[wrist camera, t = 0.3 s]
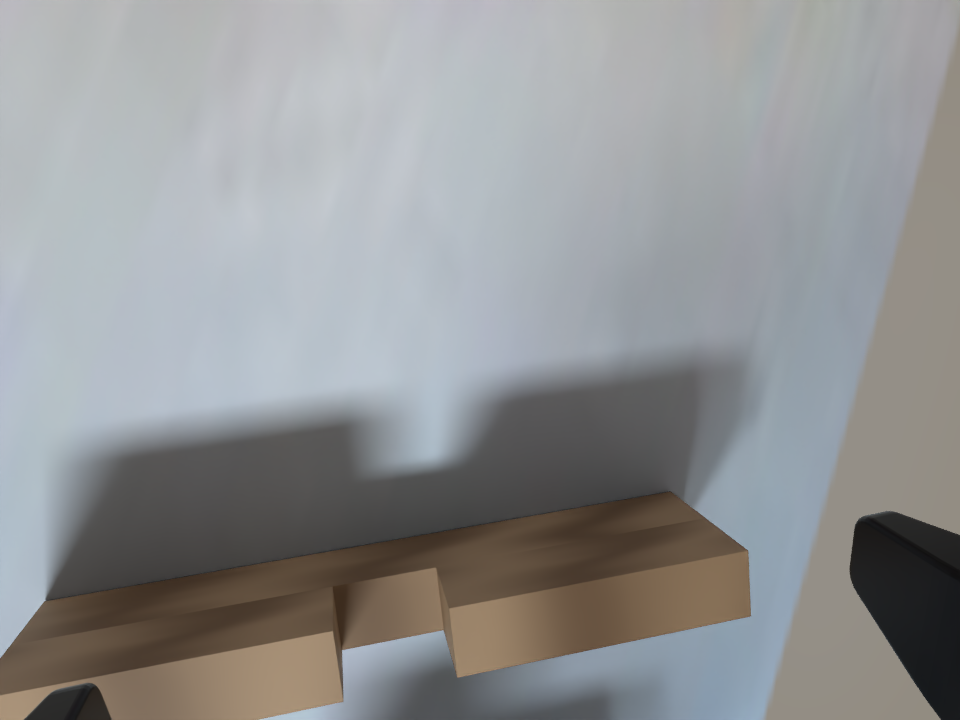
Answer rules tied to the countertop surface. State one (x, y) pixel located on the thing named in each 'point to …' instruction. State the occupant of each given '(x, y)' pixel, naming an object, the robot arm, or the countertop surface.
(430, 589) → the walnut slotted board
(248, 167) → the countertop surface
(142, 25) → the countertop surface
